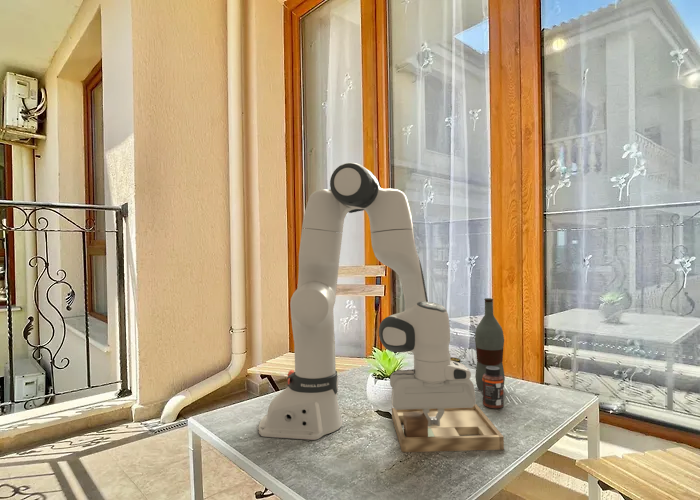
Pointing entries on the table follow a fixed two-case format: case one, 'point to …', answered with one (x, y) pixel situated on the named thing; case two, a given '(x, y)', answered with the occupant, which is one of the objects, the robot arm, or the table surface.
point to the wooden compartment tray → (452, 431)
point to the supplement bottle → (493, 388)
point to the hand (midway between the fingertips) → (433, 425)
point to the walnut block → (415, 424)
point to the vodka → (488, 344)
